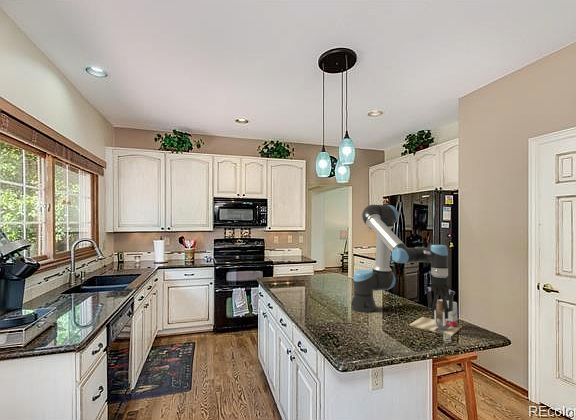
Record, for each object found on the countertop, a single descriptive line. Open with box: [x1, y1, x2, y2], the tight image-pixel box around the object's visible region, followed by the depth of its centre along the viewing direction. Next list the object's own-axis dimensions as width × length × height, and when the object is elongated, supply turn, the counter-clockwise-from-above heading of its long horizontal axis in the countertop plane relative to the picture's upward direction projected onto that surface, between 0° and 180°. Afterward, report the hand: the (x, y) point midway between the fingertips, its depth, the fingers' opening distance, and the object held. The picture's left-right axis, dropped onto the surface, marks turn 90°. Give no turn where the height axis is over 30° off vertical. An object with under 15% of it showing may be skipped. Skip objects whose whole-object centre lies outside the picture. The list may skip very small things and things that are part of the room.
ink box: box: [437, 298, 459, 327], centre depth 157 cm, size 9×5×12 cm, turn 34°
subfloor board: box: [409, 316, 463, 337], centre depth 156 cm, size 20×17×1 cm
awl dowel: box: [436, 301, 444, 327], centre depth 149 cm, size 3×3×12 cm
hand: (440, 324), depth 149 cm, fingers closed on awl dowel, 3 cm apart
